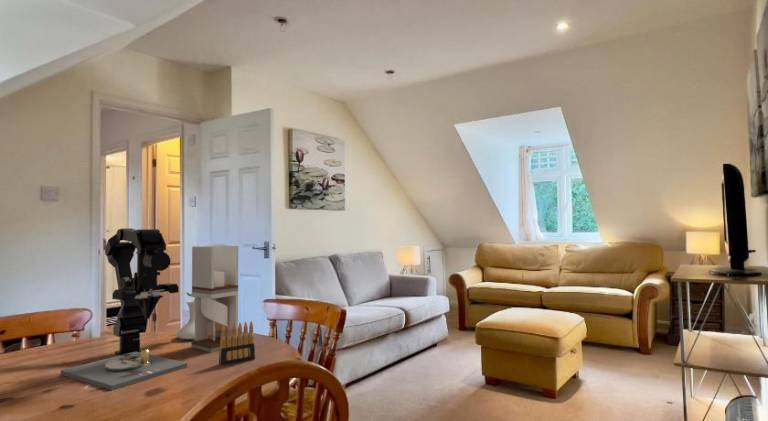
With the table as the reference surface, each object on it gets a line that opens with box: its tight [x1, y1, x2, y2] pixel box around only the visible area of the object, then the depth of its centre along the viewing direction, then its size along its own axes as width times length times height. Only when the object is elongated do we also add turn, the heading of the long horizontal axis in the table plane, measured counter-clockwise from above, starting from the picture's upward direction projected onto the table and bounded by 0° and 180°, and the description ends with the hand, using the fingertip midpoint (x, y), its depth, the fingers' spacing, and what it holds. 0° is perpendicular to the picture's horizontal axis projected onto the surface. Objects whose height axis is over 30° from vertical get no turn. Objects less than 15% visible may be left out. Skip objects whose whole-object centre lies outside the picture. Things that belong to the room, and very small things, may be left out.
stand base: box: [60, 352, 188, 391], centre depth 133 cm, size 26×22×1 cm
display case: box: [191, 244, 239, 353], centre depth 160 cm, size 11×11×35 cm
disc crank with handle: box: [105, 348, 150, 371], centre depth 132 cm, size 15×10×6 cm, turn 61°
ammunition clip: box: [218, 320, 256, 366], centre depth 141 cm, size 11×2×12 cm, turn 127°
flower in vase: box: [175, 292, 195, 340], centre depth 172 cm, size 13×11×25 cm
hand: (146, 318), depth 143 cm, fingers closed
